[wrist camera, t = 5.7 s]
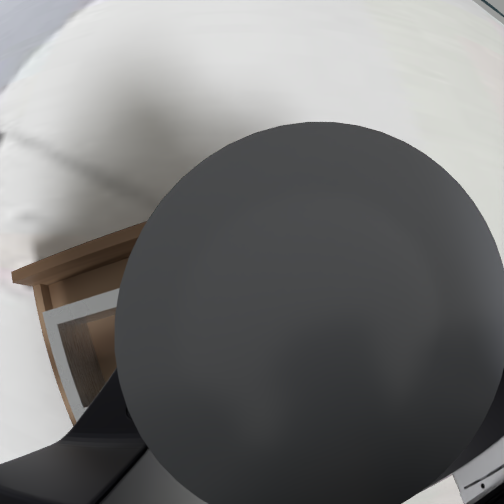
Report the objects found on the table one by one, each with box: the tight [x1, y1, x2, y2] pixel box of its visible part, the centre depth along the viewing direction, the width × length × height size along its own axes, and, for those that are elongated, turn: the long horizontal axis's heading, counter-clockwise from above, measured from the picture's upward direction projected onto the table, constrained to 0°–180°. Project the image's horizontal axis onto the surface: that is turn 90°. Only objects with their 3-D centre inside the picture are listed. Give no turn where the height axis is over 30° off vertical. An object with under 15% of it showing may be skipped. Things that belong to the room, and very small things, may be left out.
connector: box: [115, 122, 504, 504], centre depth 9 cm, size 4×4×13 cm
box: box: [11, 221, 147, 426], centre depth 19 cm, size 15×23×4 cm, turn 108°
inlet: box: [42, 288, 119, 422], centre depth 18 cm, size 8×8×4 cm
